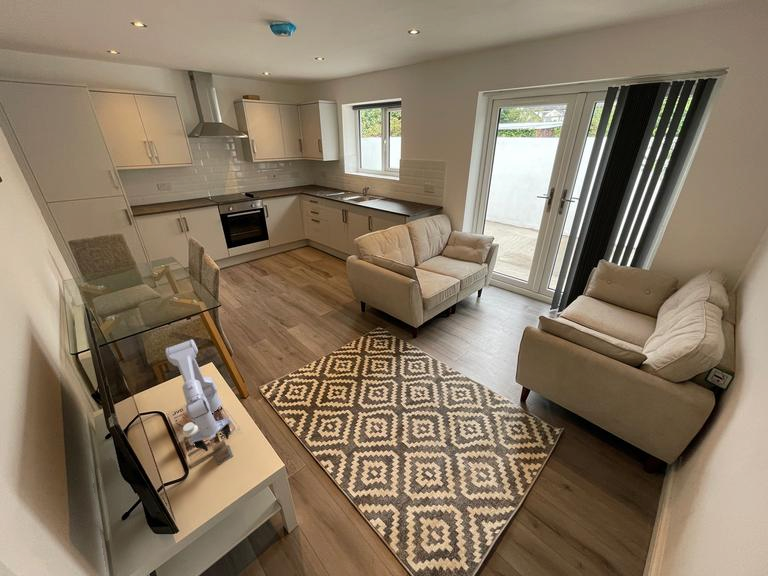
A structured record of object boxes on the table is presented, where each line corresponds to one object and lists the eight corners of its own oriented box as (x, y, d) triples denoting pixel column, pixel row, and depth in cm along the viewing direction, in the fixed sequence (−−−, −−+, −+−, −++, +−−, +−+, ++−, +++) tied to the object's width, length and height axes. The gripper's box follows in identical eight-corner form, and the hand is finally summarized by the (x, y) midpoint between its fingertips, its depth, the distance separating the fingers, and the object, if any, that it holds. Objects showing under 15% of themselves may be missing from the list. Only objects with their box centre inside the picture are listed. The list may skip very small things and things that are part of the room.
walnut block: (216, 453, 127) (212, 446, 124) (227, 447, 129) (223, 439, 126) (219, 462, 124) (214, 455, 121) (230, 455, 126) (226, 448, 123)
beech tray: (182, 439, 132) (181, 437, 131) (215, 422, 139) (214, 420, 138) (189, 468, 122) (188, 466, 121) (224, 447, 129) (223, 445, 128)
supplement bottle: (198, 446, 130) (190, 433, 124) (186, 445, 130) (178, 431, 125) (205, 434, 134) (198, 421, 129) (194, 433, 135) (186, 420, 129)
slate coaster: (214, 453, 127) (213, 453, 127) (229, 445, 130) (228, 444, 130) (217, 465, 123) (217, 464, 123) (233, 456, 126) (232, 455, 126)
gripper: (186, 442, 108) (199, 462, 115) (229, 419, 115) (238, 439, 123) (182, 428, 113) (195, 448, 120) (224, 406, 120) (233, 426, 128)
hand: (217, 442), depth 122 cm, fingers open, 7 cm apart
